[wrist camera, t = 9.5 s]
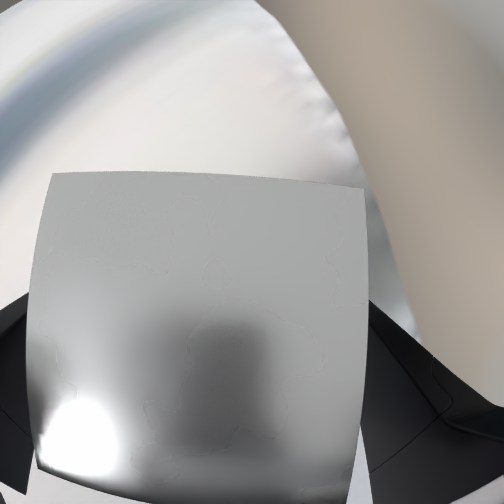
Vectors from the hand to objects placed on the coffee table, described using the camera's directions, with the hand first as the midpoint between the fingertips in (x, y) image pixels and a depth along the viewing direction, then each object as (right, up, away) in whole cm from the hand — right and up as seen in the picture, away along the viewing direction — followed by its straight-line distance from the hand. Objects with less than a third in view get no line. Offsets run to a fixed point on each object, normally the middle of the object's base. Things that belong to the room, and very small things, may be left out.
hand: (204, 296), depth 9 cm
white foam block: (-1, -3, +7) cm, 8 cm away
